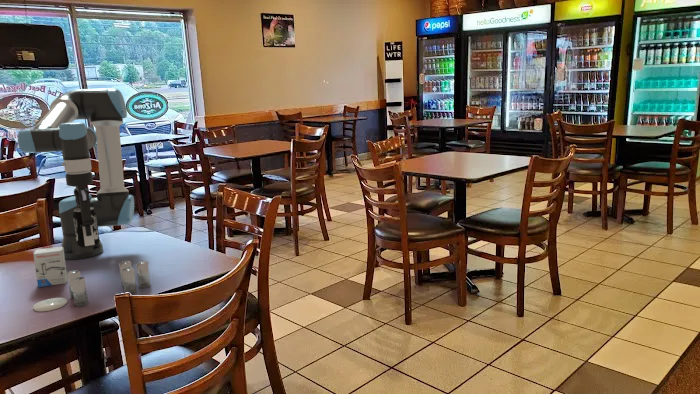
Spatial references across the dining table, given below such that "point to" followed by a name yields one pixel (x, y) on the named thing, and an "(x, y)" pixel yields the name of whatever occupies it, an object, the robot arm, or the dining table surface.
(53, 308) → the coaster
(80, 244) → the beverage can
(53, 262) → the ink box
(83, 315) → the dining table surface
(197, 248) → the dining table surface
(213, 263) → the dining table surface
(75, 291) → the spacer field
